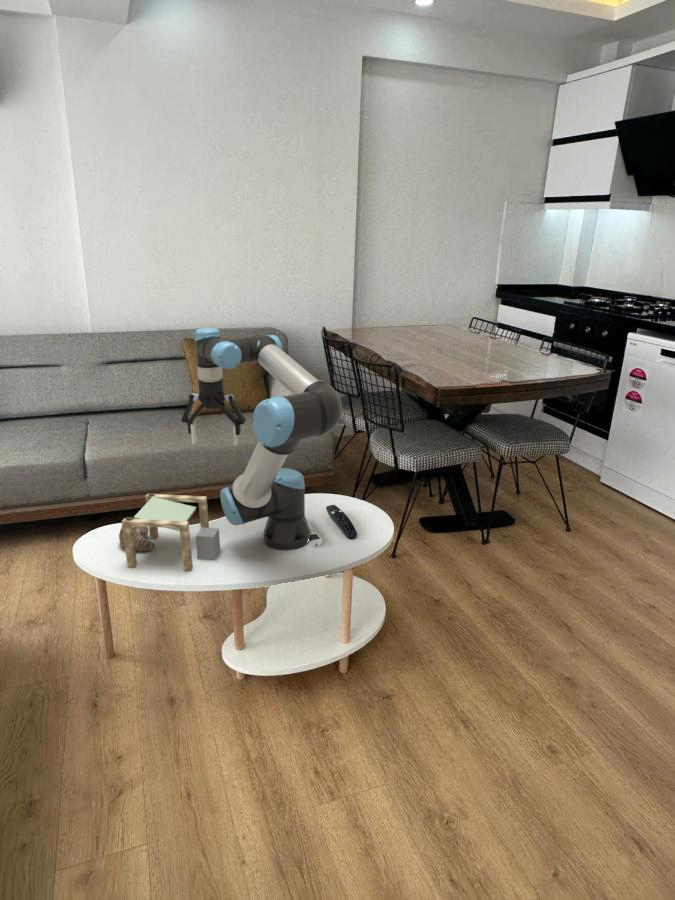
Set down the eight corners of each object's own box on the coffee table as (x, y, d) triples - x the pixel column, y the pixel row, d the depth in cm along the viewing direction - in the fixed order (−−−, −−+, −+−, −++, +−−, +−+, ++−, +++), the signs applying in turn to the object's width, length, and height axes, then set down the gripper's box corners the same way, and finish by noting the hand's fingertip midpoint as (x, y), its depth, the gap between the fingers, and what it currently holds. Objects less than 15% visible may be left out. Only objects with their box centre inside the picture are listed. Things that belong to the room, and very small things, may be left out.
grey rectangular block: (201, 527, 185) (203, 550, 187) (195, 536, 180) (197, 559, 182) (218, 528, 184) (220, 551, 187) (213, 537, 179) (215, 560, 182)
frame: (209, 539, 194) (206, 494, 188) (190, 571, 176) (185, 523, 170) (152, 536, 195) (147, 492, 190) (127, 567, 178) (121, 519, 172)
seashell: (134, 544, 198) (118, 520, 195) (161, 531, 198) (145, 506, 195) (126, 565, 186) (109, 539, 182) (156, 551, 186) (138, 525, 182)
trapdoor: (194, 517, 188) (196, 507, 187) (179, 539, 175) (180, 528, 174) (151, 506, 189) (152, 496, 187) (132, 527, 176) (133, 517, 174)
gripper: (253, 377, 189) (255, 440, 196) (175, 375, 191) (181, 438, 198) (247, 383, 182) (250, 449, 189) (167, 381, 184) (173, 446, 191)
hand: (215, 443), depth 194 cm, fingers open, 13 cm apart
